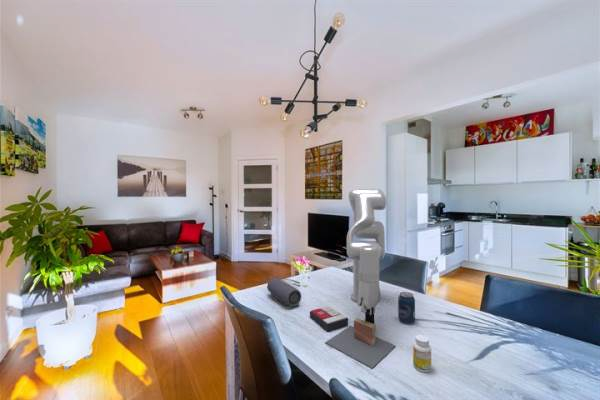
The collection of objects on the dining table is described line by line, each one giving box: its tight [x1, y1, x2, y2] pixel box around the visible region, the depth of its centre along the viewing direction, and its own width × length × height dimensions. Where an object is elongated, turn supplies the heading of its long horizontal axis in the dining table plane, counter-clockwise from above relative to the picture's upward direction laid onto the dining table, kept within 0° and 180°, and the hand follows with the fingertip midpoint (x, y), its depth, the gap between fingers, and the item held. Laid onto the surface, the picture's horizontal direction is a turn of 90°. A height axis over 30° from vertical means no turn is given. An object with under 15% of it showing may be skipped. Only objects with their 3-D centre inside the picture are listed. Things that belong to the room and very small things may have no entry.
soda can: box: [397, 291, 416, 325], centre depth 110 cm, size 7×7×12 cm
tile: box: [353, 317, 377, 346], centre depth 95 cm, size 3×8×7 cm, turn 45°
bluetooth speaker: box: [266, 277, 302, 307], centre depth 133 cm, size 23×9×10 cm, turn 34°
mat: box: [325, 325, 397, 370], centre depth 93 cm, size 17×20×1 cm
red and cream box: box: [309, 305, 349, 333], centre depth 111 cm, size 11×4×15 cm
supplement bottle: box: [412, 334, 432, 373], centre depth 81 cm, size 5×5×10 cm
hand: (369, 322), depth 98 cm, fingers closed
